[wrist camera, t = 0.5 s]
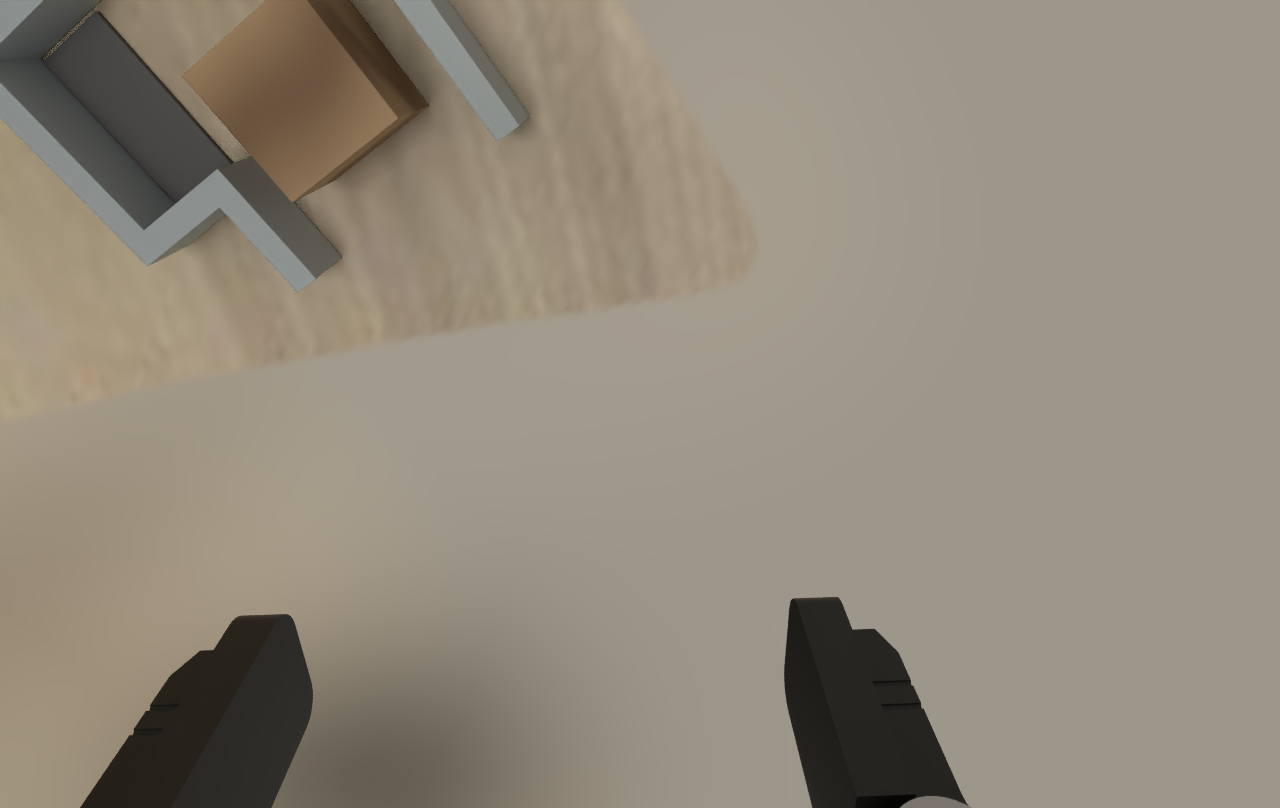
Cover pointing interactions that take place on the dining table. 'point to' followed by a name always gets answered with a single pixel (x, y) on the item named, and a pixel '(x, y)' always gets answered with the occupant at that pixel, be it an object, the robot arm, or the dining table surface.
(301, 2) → the walnut block
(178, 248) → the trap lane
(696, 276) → the dining table surface
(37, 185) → the dining table surface
